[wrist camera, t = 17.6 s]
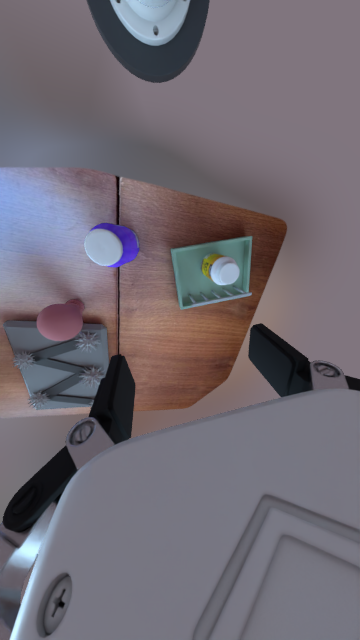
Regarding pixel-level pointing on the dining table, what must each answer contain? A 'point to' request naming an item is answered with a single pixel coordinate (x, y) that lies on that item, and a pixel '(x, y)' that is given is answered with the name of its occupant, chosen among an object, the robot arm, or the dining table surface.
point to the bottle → (111, 245)
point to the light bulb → (61, 320)
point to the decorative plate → (59, 364)
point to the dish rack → (200, 288)
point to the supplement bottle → (220, 269)
